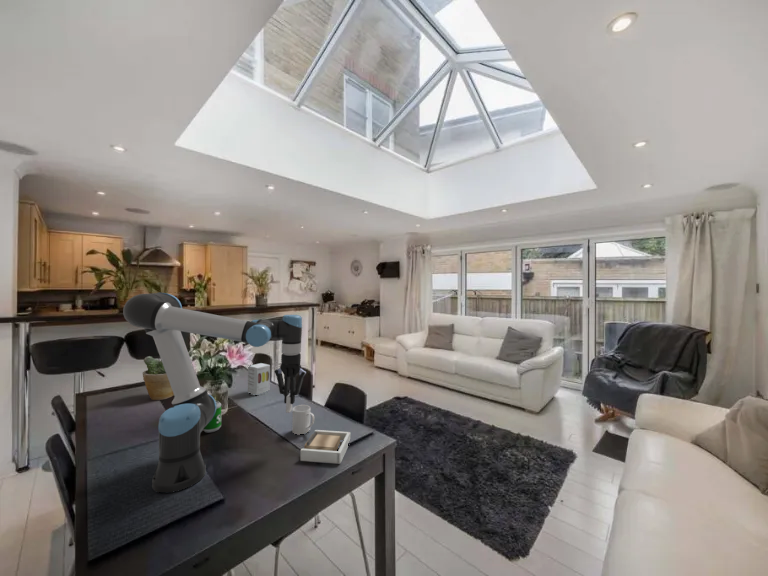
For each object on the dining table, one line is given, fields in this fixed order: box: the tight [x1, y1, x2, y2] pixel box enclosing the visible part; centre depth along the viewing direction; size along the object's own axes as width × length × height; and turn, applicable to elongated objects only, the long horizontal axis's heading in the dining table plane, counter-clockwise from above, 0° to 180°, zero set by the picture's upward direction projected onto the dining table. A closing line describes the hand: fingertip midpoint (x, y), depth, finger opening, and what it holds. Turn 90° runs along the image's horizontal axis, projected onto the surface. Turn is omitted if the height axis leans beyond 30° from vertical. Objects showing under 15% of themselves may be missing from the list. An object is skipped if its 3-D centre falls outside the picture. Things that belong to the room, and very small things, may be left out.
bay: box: [300, 429, 352, 465], centre depth 123 cm, size 16×15×4 cm
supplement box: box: [247, 362, 271, 395], centre depth 188 cm, size 10×9×17 cm
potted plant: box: [142, 355, 174, 401], centre depth 180 cm, size 18×19×25 cm
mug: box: [291, 404, 316, 436], centre depth 138 cm, size 12×8×10 cm, turn 53°
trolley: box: [303, 430, 341, 451], centre depth 124 cm, size 12×10×5 cm
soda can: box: [202, 400, 222, 434], centre depth 140 cm, size 8×8×12 cm
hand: (289, 411), depth 125 cm, fingers closed
